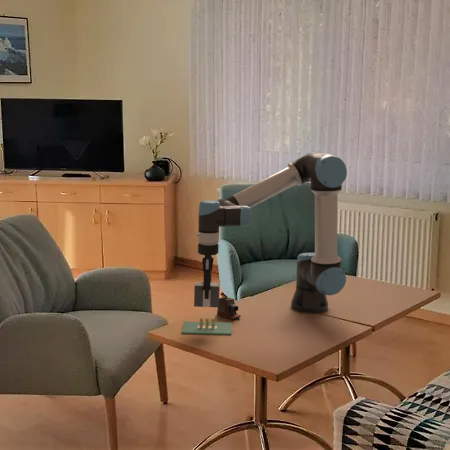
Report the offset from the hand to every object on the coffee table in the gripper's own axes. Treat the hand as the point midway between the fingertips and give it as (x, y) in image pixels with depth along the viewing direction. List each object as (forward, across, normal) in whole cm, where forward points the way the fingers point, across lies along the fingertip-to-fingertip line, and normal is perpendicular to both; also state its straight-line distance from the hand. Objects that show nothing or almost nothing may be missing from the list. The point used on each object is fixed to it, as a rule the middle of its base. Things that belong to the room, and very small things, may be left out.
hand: (206, 304), depth 252 cm
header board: (+10, 0, 0) cm, 10 cm away
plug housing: (0, 0, 0) cm, 0 cm away
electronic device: (+10, -14, +8) cm, 19 cm away
